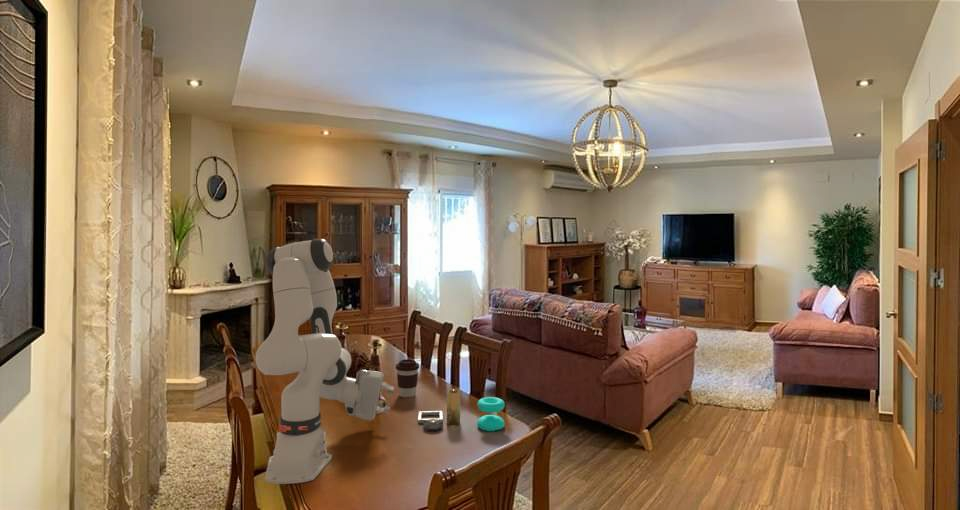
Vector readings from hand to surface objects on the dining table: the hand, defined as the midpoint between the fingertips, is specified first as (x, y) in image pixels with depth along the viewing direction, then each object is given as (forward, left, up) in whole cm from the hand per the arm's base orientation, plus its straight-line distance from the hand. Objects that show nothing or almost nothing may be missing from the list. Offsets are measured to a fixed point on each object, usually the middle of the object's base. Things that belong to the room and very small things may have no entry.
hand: (391, 400), depth 186 cm
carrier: (+4, -15, -11) cm, 19 cm away
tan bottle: (+5, -22, -11) cm, 25 cm away
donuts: (+1, -36, -11) cm, 38 cm away
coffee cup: (+39, -4, -11) cm, 41 cm away
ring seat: (+10, -14, -11) cm, 20 cm away
